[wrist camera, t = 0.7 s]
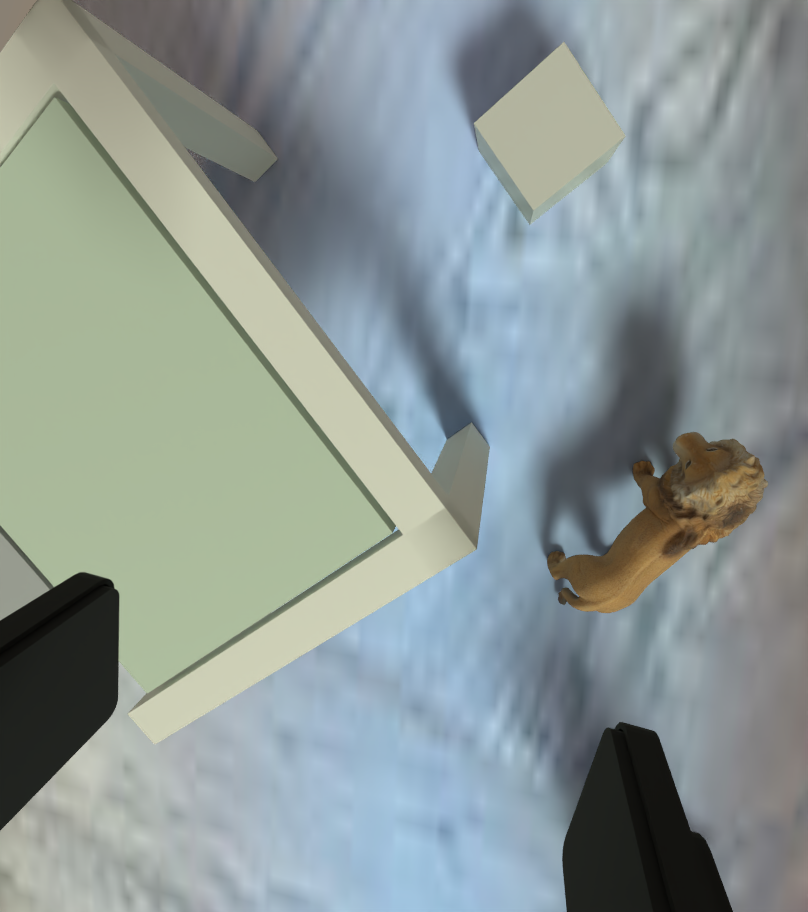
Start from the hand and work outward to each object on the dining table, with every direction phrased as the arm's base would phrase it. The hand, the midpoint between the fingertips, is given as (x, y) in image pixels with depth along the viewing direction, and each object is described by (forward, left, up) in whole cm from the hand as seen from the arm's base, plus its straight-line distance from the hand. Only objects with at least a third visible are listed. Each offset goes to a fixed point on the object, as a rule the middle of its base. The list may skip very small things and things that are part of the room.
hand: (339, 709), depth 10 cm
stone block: (-13, -10, -26) cm, 31 cm away
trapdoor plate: (+16, -10, -15) cm, 24 cm away
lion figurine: (-5, +11, -27) cm, 29 cm away
